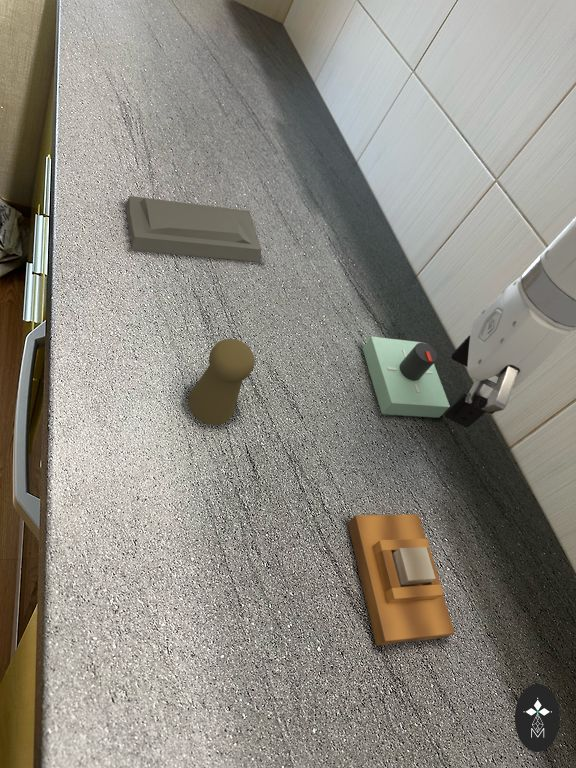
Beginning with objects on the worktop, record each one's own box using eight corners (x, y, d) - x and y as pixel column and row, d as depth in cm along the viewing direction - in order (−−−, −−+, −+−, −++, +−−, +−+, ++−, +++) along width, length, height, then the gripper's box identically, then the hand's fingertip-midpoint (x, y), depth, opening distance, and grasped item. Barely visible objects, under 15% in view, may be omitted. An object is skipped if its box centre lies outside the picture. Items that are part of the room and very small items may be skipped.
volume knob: (397, 359, 85) (413, 339, 82) (417, 362, 86) (434, 343, 83) (402, 379, 83) (419, 359, 79) (423, 382, 84) (441, 362, 81)
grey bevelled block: (259, 262, 92) (266, 245, 89) (132, 250, 83) (135, 231, 80) (246, 218, 97) (252, 201, 94) (124, 203, 88) (128, 184, 86)
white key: (418, 552, 66) (426, 546, 65) (427, 583, 64) (436, 578, 63) (391, 553, 65) (399, 547, 64) (400, 585, 63) (408, 580, 62)
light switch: (409, 520, 73) (426, 508, 70) (444, 637, 65) (464, 629, 62) (347, 522, 69) (362, 509, 66) (375, 646, 62) (393, 637, 59)
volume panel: (416, 354, 92) (426, 342, 90) (439, 417, 86) (451, 406, 83) (362, 348, 88) (371, 335, 86) (381, 414, 82) (392, 402, 79)
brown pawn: (192, 426, 69) (216, 373, 61) (183, 385, 72) (205, 329, 64) (239, 423, 72) (267, 372, 64) (228, 383, 75) (254, 330, 67)
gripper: (526, 227, 61) (438, 329, 73) (527, 331, 49) (422, 431, 62) (586, 259, 61) (488, 355, 74) (600, 369, 50) (482, 460, 63)
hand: (458, 390), depth 68 cm, fingers open, 9 cm apart
